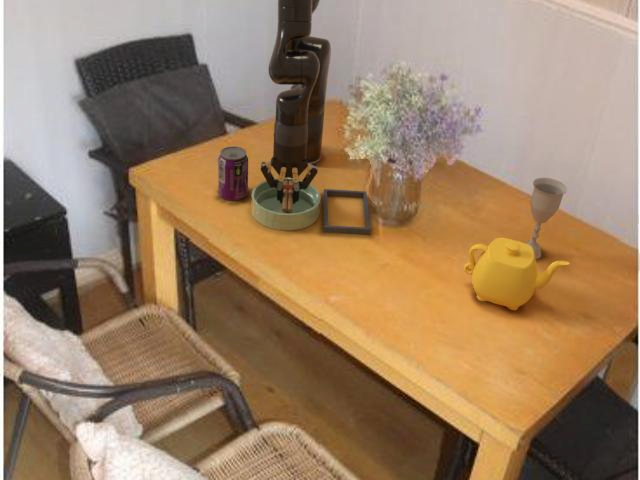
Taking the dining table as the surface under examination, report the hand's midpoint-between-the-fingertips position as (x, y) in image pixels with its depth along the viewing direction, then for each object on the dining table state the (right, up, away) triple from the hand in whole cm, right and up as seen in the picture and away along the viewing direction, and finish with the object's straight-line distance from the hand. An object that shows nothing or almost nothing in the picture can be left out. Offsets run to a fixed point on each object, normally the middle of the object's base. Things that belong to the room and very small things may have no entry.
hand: (287, 201), depth 173 cm
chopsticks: (0, 0, 0) cm, 0 cm away
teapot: (+47, -21, -18) cm, 55 cm away
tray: (+14, -3, +3) cm, 14 cm away
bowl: (-1, -3, +2) cm, 3 cm away
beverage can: (-14, +2, +6) cm, 15 cm away
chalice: (+56, -12, -4) cm, 58 cm away
